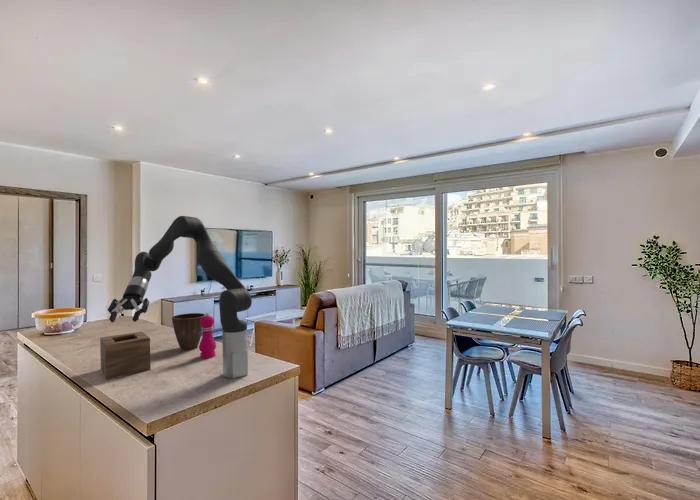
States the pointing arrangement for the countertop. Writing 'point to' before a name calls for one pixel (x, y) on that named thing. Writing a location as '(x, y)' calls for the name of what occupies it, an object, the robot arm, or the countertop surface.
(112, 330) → the countertop surface
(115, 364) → the wooden box
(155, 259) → the robot arm
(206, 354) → the pepper mill
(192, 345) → the plant pot
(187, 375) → the countertop surface
